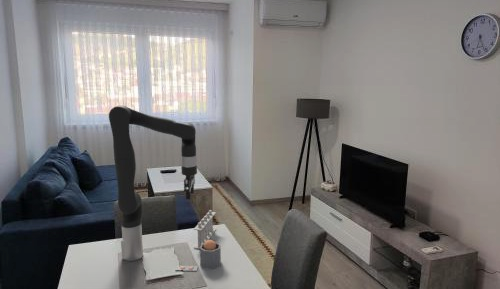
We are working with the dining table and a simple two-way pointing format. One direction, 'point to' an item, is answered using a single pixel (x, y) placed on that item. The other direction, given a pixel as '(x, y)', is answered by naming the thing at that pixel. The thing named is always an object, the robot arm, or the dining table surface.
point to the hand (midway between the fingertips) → (190, 196)
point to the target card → (189, 268)
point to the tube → (210, 257)
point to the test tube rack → (205, 229)
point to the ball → (209, 245)
